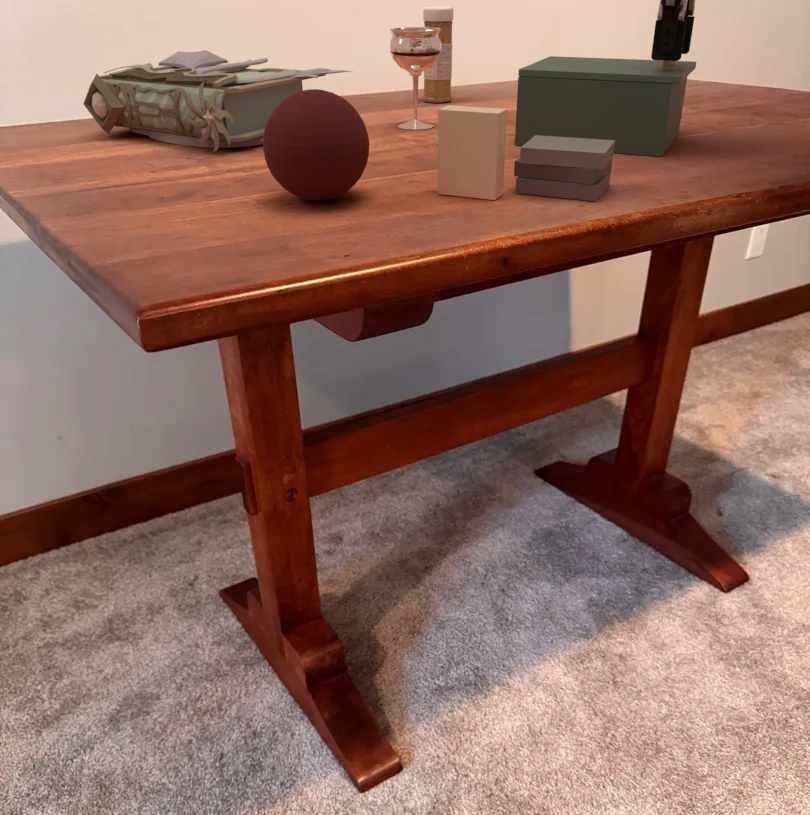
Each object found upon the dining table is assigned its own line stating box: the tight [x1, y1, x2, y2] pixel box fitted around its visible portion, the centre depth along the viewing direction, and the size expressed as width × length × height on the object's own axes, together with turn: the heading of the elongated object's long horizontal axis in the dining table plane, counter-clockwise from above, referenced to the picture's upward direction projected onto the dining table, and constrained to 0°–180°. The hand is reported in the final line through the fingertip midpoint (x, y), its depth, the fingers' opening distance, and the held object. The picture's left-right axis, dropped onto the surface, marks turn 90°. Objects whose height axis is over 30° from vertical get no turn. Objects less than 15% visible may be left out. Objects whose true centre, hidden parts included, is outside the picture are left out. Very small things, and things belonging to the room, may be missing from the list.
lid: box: [517, 55, 697, 84], centre depth 95 cm, size 18×14×5 cm
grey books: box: [513, 135, 615, 202], centre depth 79 cm, size 9×7×4 cm
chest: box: [514, 76, 688, 157], centre depth 98 cm, size 18×14×8 cm
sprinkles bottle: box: [422, 5, 454, 104], centre depth 123 cm, size 5×5×14 cm
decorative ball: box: [262, 88, 370, 202], centre depth 75 cm, size 10×10×10 cm
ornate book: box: [83, 49, 352, 154], centre depth 105 cm, size 23×10×30 cm
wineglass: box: [389, 26, 441, 131], centre depth 106 cm, size 7×7×12 cm
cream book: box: [437, 104, 508, 201], centre depth 77 cm, size 6×2×8 cm, turn 66°
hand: (670, 55), depth 92 cm, fingers open, 6 cm apart
